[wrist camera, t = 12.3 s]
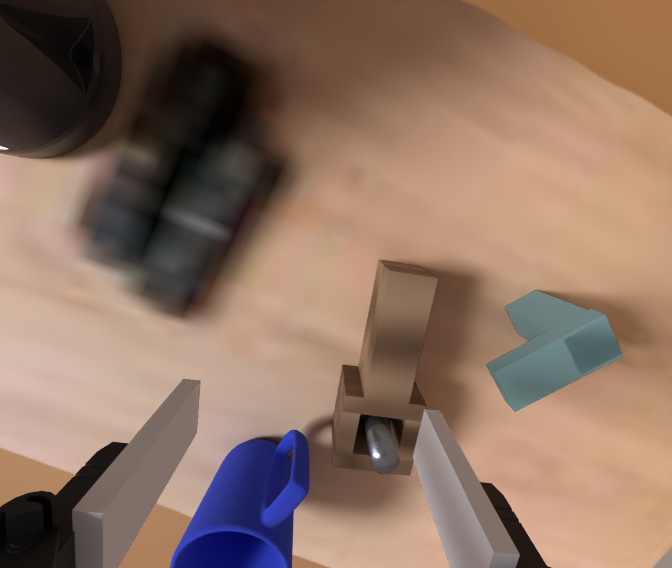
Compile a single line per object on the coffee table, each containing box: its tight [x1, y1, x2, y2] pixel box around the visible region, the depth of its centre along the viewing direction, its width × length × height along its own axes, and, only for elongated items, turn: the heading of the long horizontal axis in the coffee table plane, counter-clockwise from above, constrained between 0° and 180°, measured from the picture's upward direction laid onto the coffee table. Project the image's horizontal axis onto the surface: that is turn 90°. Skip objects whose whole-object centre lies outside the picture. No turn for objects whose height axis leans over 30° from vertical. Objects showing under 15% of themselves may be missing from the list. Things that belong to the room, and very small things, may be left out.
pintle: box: [363, 414, 400, 474], centre depth 26 cm, size 2×2×8 cm
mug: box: [170, 430, 309, 568], centre depth 27 cm, size 8×12×10 cm
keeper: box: [486, 290, 623, 412], centre depth 25 cm, size 4×8×7 cm, turn 121°
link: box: [332, 260, 438, 475], centre depth 27 cm, size 16×6×5 cm, turn 171°
